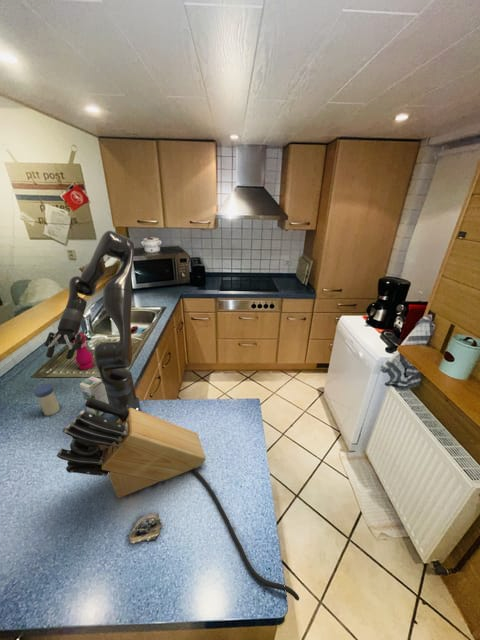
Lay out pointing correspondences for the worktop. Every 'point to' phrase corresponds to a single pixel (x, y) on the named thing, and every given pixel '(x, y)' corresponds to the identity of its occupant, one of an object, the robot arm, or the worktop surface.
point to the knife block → (129, 448)
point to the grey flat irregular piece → (146, 528)
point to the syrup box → (94, 392)
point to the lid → (43, 390)
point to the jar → (49, 404)
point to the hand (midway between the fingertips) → (58, 358)
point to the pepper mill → (84, 355)
